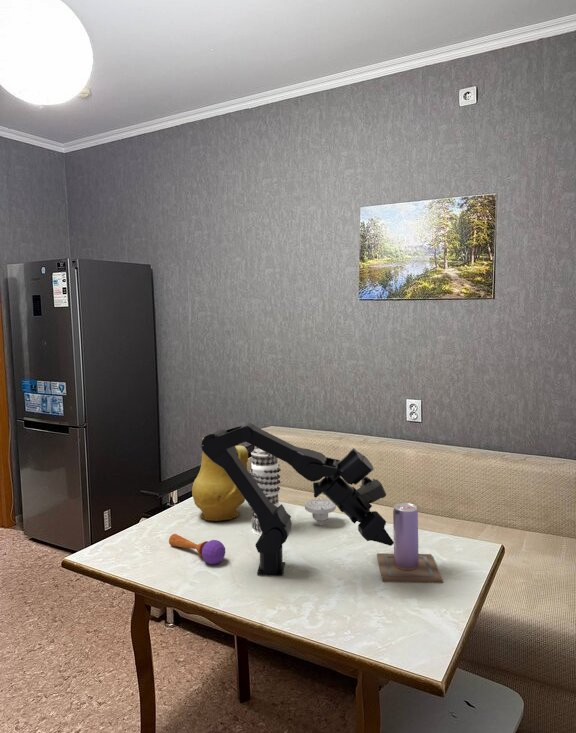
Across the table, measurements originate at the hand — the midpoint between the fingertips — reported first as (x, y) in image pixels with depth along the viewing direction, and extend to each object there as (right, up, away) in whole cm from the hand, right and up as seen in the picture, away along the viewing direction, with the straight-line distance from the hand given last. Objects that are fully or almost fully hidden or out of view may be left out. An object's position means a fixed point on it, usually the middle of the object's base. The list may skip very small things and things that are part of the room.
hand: (386, 536), depth 131 cm
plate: (+6, -8, +1) cm, 10 cm away
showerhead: (-14, -6, +31) cm, 35 cm away
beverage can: (+5, -8, +2) cm, 10 cm away
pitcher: (-46, -6, +39) cm, 61 cm away
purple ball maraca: (-49, -9, +11) cm, 51 cm away
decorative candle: (-31, -7, +27) cm, 41 cm away
